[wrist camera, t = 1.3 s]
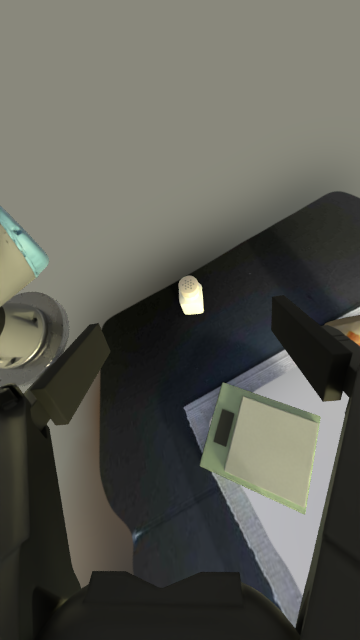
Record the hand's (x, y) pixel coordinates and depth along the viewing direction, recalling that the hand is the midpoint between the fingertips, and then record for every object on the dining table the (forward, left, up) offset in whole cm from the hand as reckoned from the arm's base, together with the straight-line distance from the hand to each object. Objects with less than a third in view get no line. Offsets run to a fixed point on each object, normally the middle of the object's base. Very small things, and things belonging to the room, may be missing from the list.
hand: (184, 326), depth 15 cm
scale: (+12, -9, -24) cm, 28 cm away
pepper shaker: (-5, +10, -24) cm, 26 cm away
